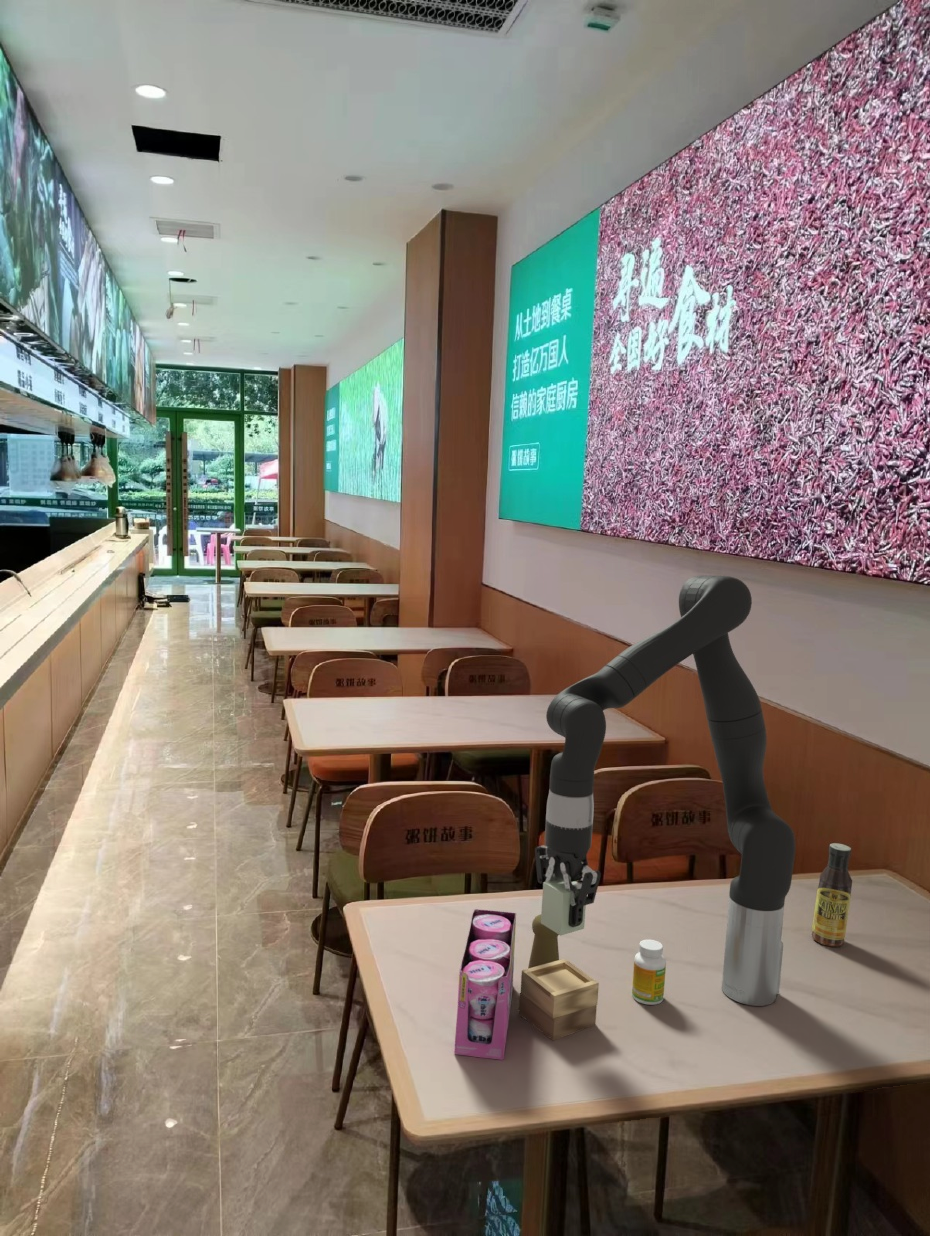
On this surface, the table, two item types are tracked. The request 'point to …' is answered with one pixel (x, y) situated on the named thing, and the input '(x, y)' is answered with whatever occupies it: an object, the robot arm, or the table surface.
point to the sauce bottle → (833, 898)
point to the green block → (558, 907)
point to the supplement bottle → (649, 973)
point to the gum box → (486, 985)
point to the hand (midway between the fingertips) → (563, 918)
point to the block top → (559, 988)
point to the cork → (543, 944)
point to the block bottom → (556, 1019)
